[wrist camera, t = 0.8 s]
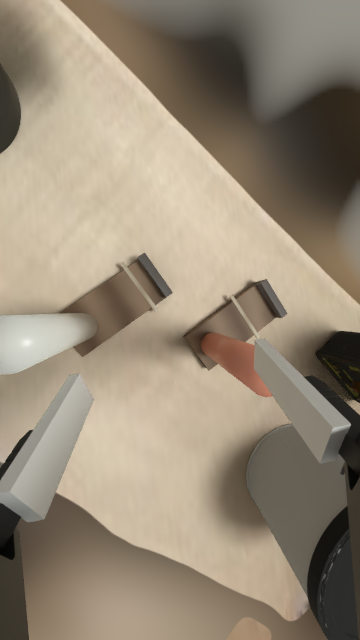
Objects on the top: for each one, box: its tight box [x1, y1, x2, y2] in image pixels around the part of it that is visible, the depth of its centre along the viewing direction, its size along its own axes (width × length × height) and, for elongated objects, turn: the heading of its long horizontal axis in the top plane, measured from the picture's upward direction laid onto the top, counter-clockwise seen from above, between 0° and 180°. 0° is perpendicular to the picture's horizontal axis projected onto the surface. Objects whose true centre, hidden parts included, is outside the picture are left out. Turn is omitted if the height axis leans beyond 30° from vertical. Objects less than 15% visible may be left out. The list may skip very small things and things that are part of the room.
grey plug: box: [0, 313, 98, 375], centre depth 19 cm, size 4×4×14 cm
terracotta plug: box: [201, 332, 273, 397], centre depth 22 cm, size 4×4×14 cm
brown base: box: [184, 279, 287, 370], centre depth 30 cm, size 16×9×3 cm, turn 126°
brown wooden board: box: [59, 253, 173, 357], centre depth 27 cm, size 16×9×3 cm, turn 126°
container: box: [246, 424, 359, 640], centre depth 28 cm, size 19×19×15 cm
